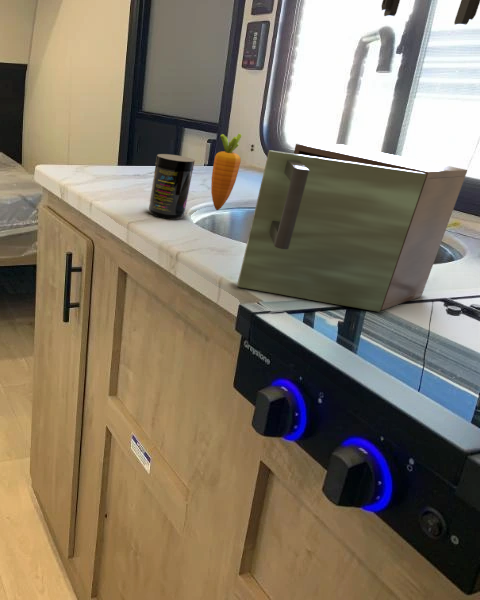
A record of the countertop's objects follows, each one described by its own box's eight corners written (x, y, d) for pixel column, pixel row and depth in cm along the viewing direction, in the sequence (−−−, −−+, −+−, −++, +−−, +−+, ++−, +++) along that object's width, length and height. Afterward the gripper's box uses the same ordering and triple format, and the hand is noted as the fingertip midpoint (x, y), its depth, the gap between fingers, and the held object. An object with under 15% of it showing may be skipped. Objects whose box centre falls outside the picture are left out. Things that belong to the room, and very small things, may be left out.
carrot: (202, 209, 117) (218, 131, 112) (206, 205, 122) (222, 130, 116) (227, 214, 116) (244, 135, 110) (231, 210, 120) (248, 134, 115)
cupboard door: (395, 334, 68) (448, 184, 62) (240, 305, 71) (275, 158, 64) (377, 309, 76) (423, 172, 69) (237, 284, 78) (269, 149, 71)
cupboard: (381, 310, 76) (428, 171, 69) (265, 265, 88) (295, 143, 81) (421, 296, 83) (467, 169, 76) (309, 256, 95) (340, 144, 89)
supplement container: (184, 222, 106) (196, 163, 102) (147, 216, 107) (156, 157, 103) (183, 213, 113) (193, 157, 109) (147, 208, 113) (157, 152, 109)
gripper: (519, -122, 70) (469, 29, 76) (396, -135, 71) (355, 15, 77) (560, -142, 63) (500, 26, 69) (422, -157, 64) (376, 10, 70)
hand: (424, 20), depth 73 cm, fingers open, 8 cm apart
